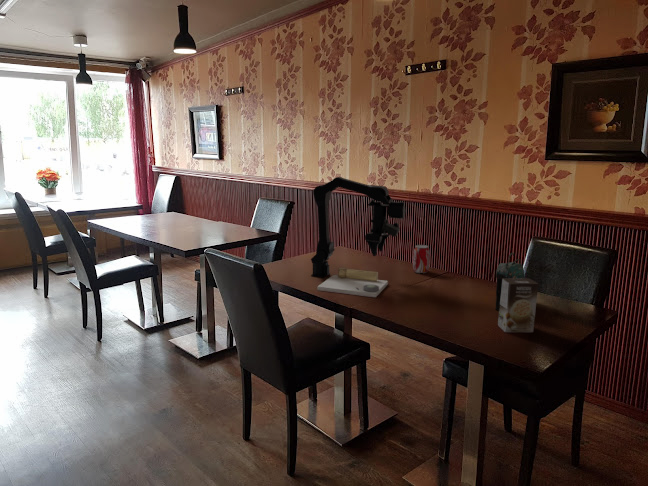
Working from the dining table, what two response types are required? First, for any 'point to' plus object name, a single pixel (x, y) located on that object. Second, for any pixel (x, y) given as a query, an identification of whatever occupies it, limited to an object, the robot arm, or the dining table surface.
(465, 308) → the dining table surface
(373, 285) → the base
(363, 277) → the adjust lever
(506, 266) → the ceramic cat
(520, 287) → the coffee box
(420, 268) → the soda can
